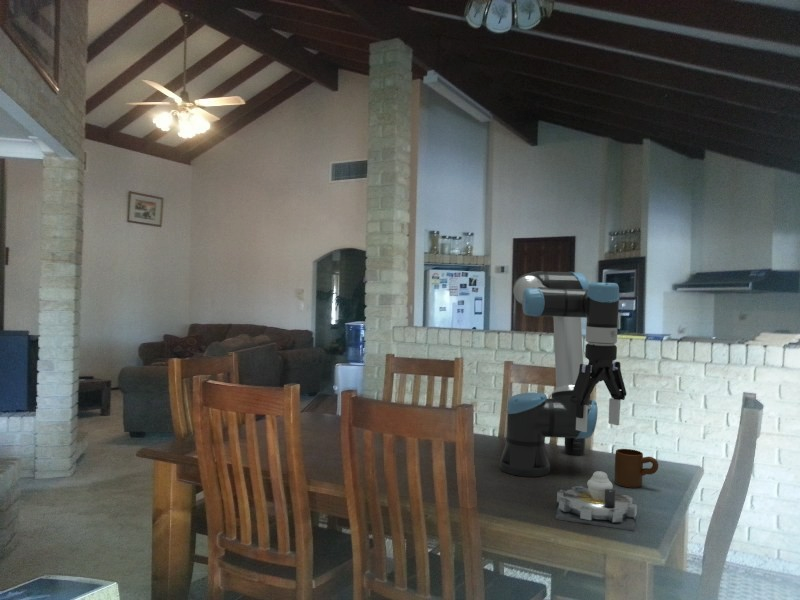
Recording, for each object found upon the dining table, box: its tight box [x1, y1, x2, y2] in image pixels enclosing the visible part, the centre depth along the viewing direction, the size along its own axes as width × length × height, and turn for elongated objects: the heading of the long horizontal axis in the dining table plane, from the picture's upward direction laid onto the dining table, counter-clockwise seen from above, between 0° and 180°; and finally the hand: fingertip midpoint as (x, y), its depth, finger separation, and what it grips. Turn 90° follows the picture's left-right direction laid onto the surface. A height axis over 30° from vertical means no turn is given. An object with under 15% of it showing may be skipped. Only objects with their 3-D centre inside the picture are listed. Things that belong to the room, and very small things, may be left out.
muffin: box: [586, 470, 614, 501], centre depth 154 cm, size 6×6×7 cm
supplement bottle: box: [563, 438, 586, 457], centre depth 210 cm, size 7×7×12 cm
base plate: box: [554, 502, 636, 532], centre depth 154 cm, size 18×18×1 cm
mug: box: [614, 448, 659, 489], centre depth 176 cm, size 12×8×9 cm, turn 50°
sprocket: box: [556, 485, 638, 522], centre depth 154 cm, size 19×19×6 cm
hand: (597, 427), depth 155 cm, fingers open, 13 cm apart
